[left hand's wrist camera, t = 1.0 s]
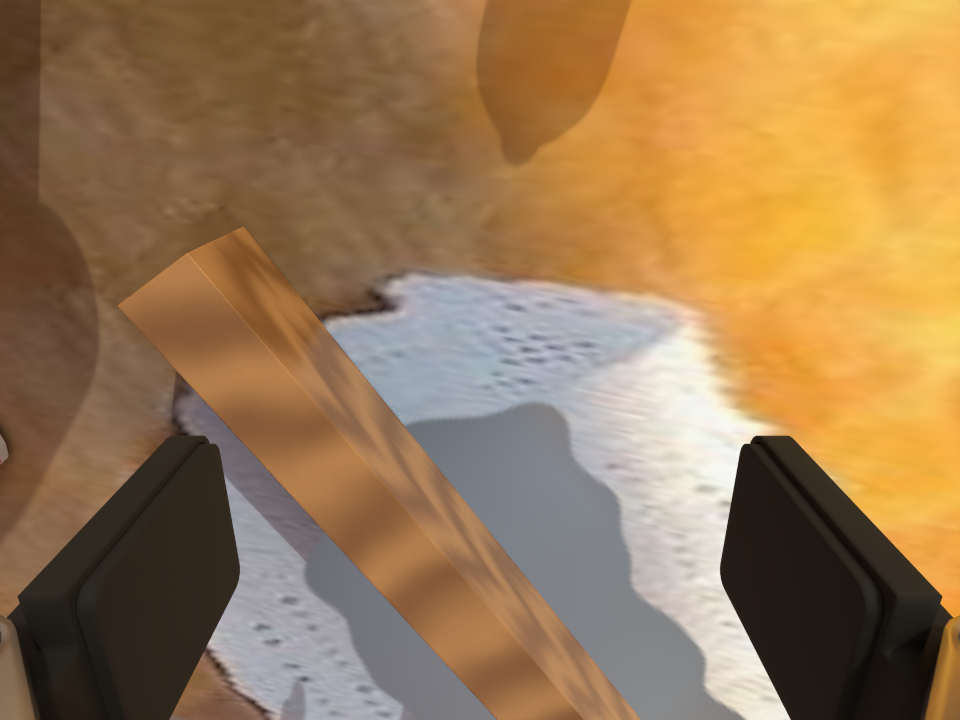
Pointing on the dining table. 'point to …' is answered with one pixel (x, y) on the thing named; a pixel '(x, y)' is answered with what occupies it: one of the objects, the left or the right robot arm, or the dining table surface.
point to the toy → (3, 450)
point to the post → (365, 479)
